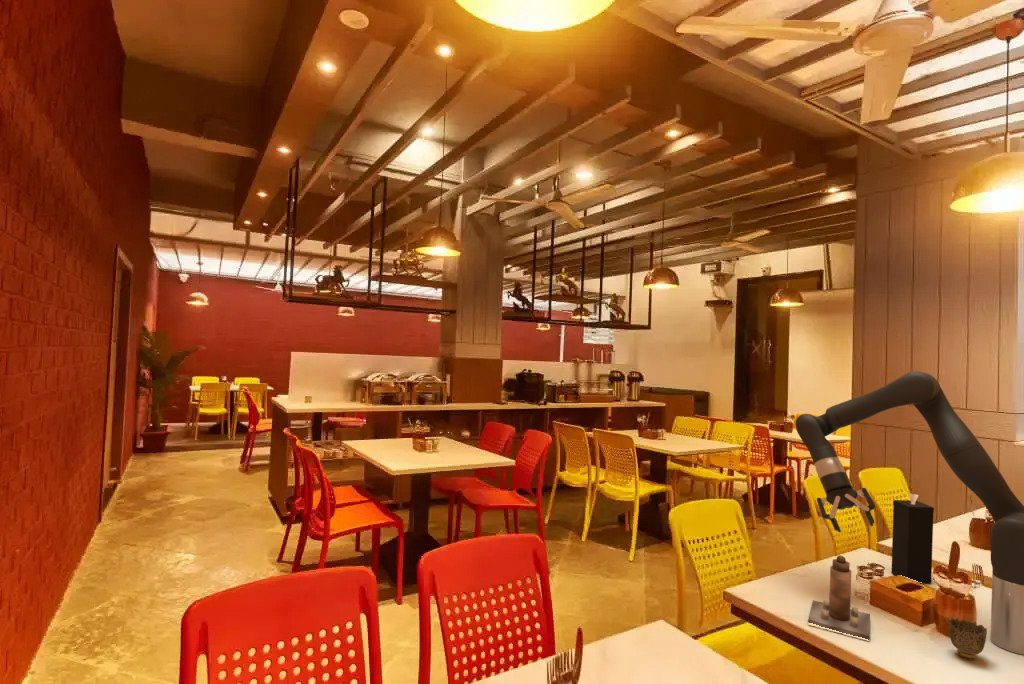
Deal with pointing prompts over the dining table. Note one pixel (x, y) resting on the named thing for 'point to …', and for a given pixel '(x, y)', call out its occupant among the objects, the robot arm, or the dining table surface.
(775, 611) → the dining table surface
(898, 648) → the dining table surface
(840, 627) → the board
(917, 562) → the tissue box
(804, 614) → the dining table surface
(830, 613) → the pepper mill
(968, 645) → the cup
